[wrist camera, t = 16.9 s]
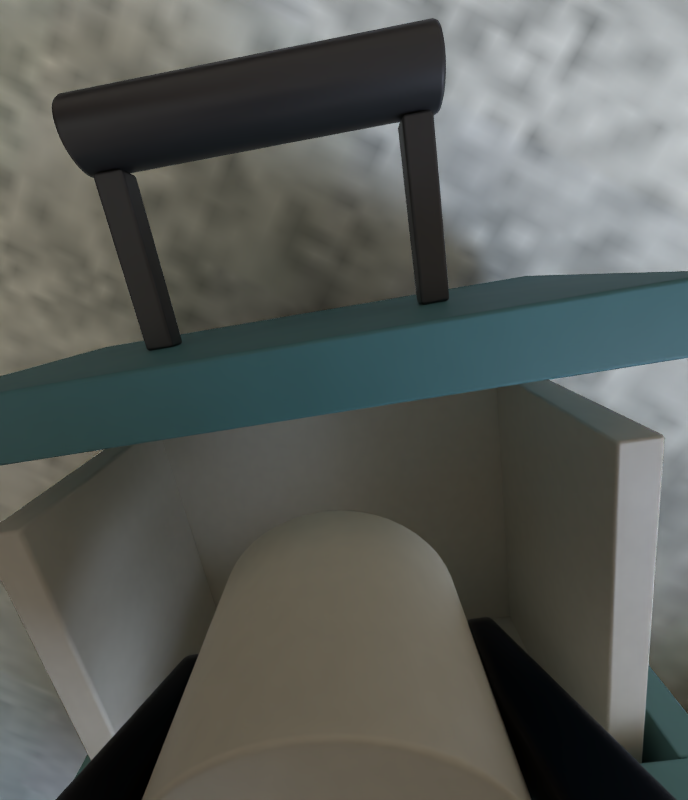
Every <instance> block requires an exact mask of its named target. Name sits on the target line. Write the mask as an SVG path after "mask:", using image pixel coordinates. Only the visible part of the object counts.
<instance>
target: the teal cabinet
mask: <svg viewBox="0 0 688 800" xmlns="http://www.w3.org/2000/svg"><path fill="white" fill-rule="evenodd" d="M90 761H91V760H90V758H89V756H88V755H87V756H86V758H85V760H84V762H83V764H82V766H81V767H80V769H79V771H78V773H77V775H78V774H79V773H80V772H81V771H82V770H83V769H84V768H85V767H86V766H87V764H88V763H89V762H90ZM640 764H641V765H642V766H643V767H644V768H645V769H646V770H647V771H648V772H649V773H650V774H651V775H652V776H653V777H654V778H655V779H656V780H657V781H658V782H659V783H660V784H661V785H662V786H663V787H664V788H665V789H666V790H667V791H668V792H669V793H670V794H671V795H672V796H673V797H674V798H675V799H676V800H688V714H687V713H686V711H685V710H684V709H683V708H682V706H681V705H680V704H679V703H678V701H677V700H676V699H675V698H674V696H673V695H672V694H671V693H670V691H669V690H668V689H667V687H666V686H665V685H664V684H663V682H662V681H661V680H660V679H659V677H658V676H657V675H656V674H655V672H654V671H653V670H652V669H651V667H650V666H648V680H647V694H646V708H645V722H644V737H643V751H642V763H640ZM77 775H76V777H77ZM76 777H75V778H76ZM75 778H74V779H75Z"/></svg>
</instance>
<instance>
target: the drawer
mask: <svg viewBox="0 0 688 800" xmlns="http://www.w3.org/2000/svg"><path fill="white" fill-rule="evenodd" d="M445 79H446V54H445V43H444V37H443V32H442V28H441V25H440V23H439V21H438V20H436V19H434V18H431V19H426V20H422V21H417V22H412V23H407V24H402V25H397V26H392V27H387V28H382V29H377V30H372V31H367V32H362V33H357V34H352V35H347V36H342V37H337V38H332V39H327V40H323V41H318V42H313V43H308V44H303V45H298V46H293V47H288V48H283V49H278V50H273V51H268V52H263V53H258V54H253V55H248V56H243V57H238V58H233V59H228V60H223V61H219V62H214V63H209V64H204V65H199V66H194V67H189V68H184V69H179V70H174V71H169V72H164V73H159V74H154V75H149V76H144V77H139V78H134V79H129V80H124V81H119V82H115V83H110V84H105V85H100V86H95V87H90V88H85V89H80V90H75V91H70V92H65V93H60V94H58V95H57V96H56V97H55V98H54V99H53V102H52V114H53V119H54V123H55V126H56V129H57V132H58V134H59V137H60V139H61V141H62V143H63V145H64V147H65V149H66V150H67V152H68V154H69V155H70V157H71V158H72V159H73V161H74V162H75V163H76V165H77V166H78V167H79V168H80V169H81V170H82V171H83V172H84V173H85V174H87V175H88V176H90V177H93V178H94V180H95V183H96V186H97V190H98V193H99V196H100V199H101V202H102V206H103V209H104V212H105V215H106V219H107V222H108V225H109V228H110V232H111V235H112V238H113V241H114V245H115V248H116V251H117V254H118V258H119V261H120V264H121V267H122V270H123V274H124V277H125V280H126V283H127V287H128V290H129V293H130V296H131V300H132V303H133V306H134V309H135V313H136V316H137V319H138V322H139V326H140V329H141V332H142V335H143V338H144V341H139V342H133V343H128V344H122V345H116V346H110V347H105V348H101V349H98V350H94V351H90V352H87V353H83V354H80V355H76V356H72V357H69V358H65V359H61V360H58V361H54V362H51V363H47V364H43V365H40V366H36V367H32V368H29V369H25V370H22V371H18V372H14V373H11V374H7V375H3V376H0V465H7V464H13V463H19V462H26V461H32V460H38V459H45V458H51V457H58V456H64V455H70V454H77V453H83V452H90V451H96V450H102V449H105V450H104V451H102V452H101V453H99V454H98V455H96V456H95V457H94V458H92V459H91V460H89V461H88V462H86V463H85V464H84V465H82V466H81V467H79V468H78V469H76V470H75V471H74V472H72V473H71V474H69V475H68V476H66V477H65V478H64V479H62V480H61V481H59V482H58V483H57V484H55V485H54V486H52V487H51V488H49V489H48V490H47V491H45V492H44V493H42V494H41V495H39V496H38V497H37V498H35V499H34V500H32V501H31V502H29V503H28V504H27V505H25V506H24V507H22V508H21V509H20V510H18V511H17V512H15V513H14V514H12V515H11V516H10V517H8V518H7V519H5V520H4V521H2V522H1V523H0V579H1V581H2V583H3V585H4V587H5V589H6V591H7V593H8V595H9V597H10V599H11V601H12V603H13V605H14V607H15V609H16V611H17V613H18V615H19V617H20V619H21V621H22V623H23V625H24V627H25V629H26V631H27V633H28V635H29V637H30V639H31V641H32V643H33V645H34V647H35V649H36V651H37V653H38V655H39V657H40V659H41V661H42V663H43V665H44V667H45V669H46V671H47V673H48V675H49V677H50V679H51V681H52V683H53V685H54V687H55V690H56V692H57V694H58V696H59V698H60V700H61V702H62V704H63V706H64V708H65V710H66V712H67V714H68V716H69V718H70V720H71V722H72V724H73V726H74V728H75V730H76V732H77V734H78V736H79V738H80V740H81V742H82V744H83V746H84V748H85V750H86V752H87V754H88V756H89V758H90V760H92V759H93V758H94V757H95V756H96V754H97V753H98V752H99V751H100V750H101V749H102V748H103V747H104V746H105V745H106V743H107V742H108V741H109V740H110V739H111V738H112V737H113V736H114V735H115V733H116V732H117V731H118V730H119V729H120V728H121V727H122V726H123V725H124V724H125V722H126V721H127V720H128V719H129V718H130V717H131V716H132V715H133V714H134V712H135V711H136V710H137V709H138V708H139V707H140V706H141V705H142V704H143V703H144V701H145V700H146V699H147V698H148V697H149V696H150V695H151V694H152V693H153V691H154V690H155V689H156V688H157V687H158V686H159V685H160V684H161V683H162V682H163V680H164V679H165V678H166V677H167V676H168V675H169V674H170V673H171V672H172V670H173V669H174V668H175V667H176V666H177V665H178V664H179V663H180V662H181V661H182V660H183V659H184V658H185V657H186V656H188V655H194V654H199V652H200V650H201V647H202V645H203V642H204V640H205V637H206V634H207V632H208V629H209V627H210V624H211V622H212V619H213V617H214V614H215V612H216V609H217V606H218V604H219V601H220V599H221V596H222V594H223V591H224V589H225V586H226V583H227V581H228V578H229V576H230V574H231V572H232V570H233V568H234V566H235V564H236V562H237V561H238V559H239V558H240V557H241V555H242V554H243V552H244V551H245V550H246V549H247V548H248V547H249V546H250V545H251V544H252V543H253V542H254V541H255V540H257V539H258V538H259V537H260V536H262V535H263V534H264V533H266V532H267V531H269V530H270V529H272V528H274V527H276V526H277V525H279V524H281V523H284V522H286V521H288V520H291V519H293V518H296V517H299V516H303V515H306V514H310V513H316V512H322V511H337V510H344V511H358V512H363V513H369V514H374V515H377V516H380V517H383V518H387V519H389V520H392V521H394V522H396V523H398V524H401V525H403V526H404V527H406V528H408V529H409V530H411V531H413V532H414V533H416V534H417V535H418V536H420V537H421V538H422V539H423V540H424V541H426V542H427V543H428V544H429V545H430V546H431V547H432V548H433V549H434V550H435V551H436V552H437V554H438V555H439V556H440V558H441V559H442V561H443V562H444V564H445V565H446V567H447V569H448V571H449V573H450V575H451V578H452V581H453V583H454V586H455V589H456V592H457V594H458V597H459V600H460V603H461V605H462V608H463V611H464V614H465V617H466V619H467V622H468V620H469V619H473V618H481V617H489V618H491V619H493V620H494V621H495V622H496V623H497V624H498V625H499V626H500V627H501V628H502V629H503V630H504V631H505V632H506V633H507V634H508V635H509V636H510V637H511V638H512V639H513V640H514V641H515V642H516V643H517V644H518V645H519V646H520V647H521V648H522V649H523V650H524V651H525V652H526V653H527V654H528V655H529V656H530V657H531V658H533V659H534V660H535V661H536V662H537V663H538V664H539V665H540V666H541V667H542V668H543V669H544V670H545V671H546V672H547V673H548V674H549V675H550V676H551V677H552V678H553V679H554V680H555V681H556V682H557V683H558V684H559V685H560V686H561V687H562V688H563V689H564V690H565V691H566V692H567V693H568V694H569V695H570V696H571V697H572V698H573V699H574V700H575V701H576V702H577V703H578V704H579V705H580V706H582V707H583V708H584V709H585V710H586V711H587V712H588V713H589V714H590V715H591V716H592V717H593V718H594V719H595V720H596V721H597V722H598V723H599V724H600V725H601V726H602V727H603V728H604V729H605V730H606V731H607V732H608V733H609V734H610V735H611V736H612V737H613V738H614V739H615V740H616V741H617V742H618V743H619V744H620V745H621V746H622V747H623V748H624V749H625V750H626V751H627V752H628V753H630V754H631V755H632V756H633V757H634V758H635V759H636V760H637V761H638V762H639V763H642V751H643V737H644V722H645V708H646V694H647V680H648V666H649V652H650V638H651V624H652V610H653V595H654V581H655V567H656V553H657V539H658V525H659V511H660V497H661V483H662V468H663V454H664V440H665V438H664V436H663V435H662V434H660V433H658V432H656V431H654V430H652V429H650V428H647V427H645V426H643V425H641V424H639V423H637V422H635V421H633V420H631V419H629V418H627V417H625V416H623V415H620V414H618V413H616V412H614V411H612V410H610V409H608V408H606V407H604V406H602V405H600V404H598V403H596V402H593V401H591V400H589V399H587V398H585V397H583V396H581V395H579V394H577V393H575V392H573V391H571V390H569V389H566V388H564V387H562V386H560V385H558V384H556V383H554V382H552V381H550V380H549V379H555V378H562V377H568V376H575V375H581V374H587V373H594V372H600V371H606V370H613V369H619V368H626V367H632V366H638V365H645V364H651V363H657V362H664V361H670V360H677V359H683V358H688V271H679V272H646V273H612V274H578V275H545V276H523V277H517V278H511V279H506V280H500V281H494V282H488V283H482V284H476V285H470V286H464V287H458V288H452V289H448V277H447V265H446V254H445V242H444V231H443V219H442V208H441V196H440V184H439V173H438V161H437V150H436V138H435V127H434V115H435V114H436V113H438V112H439V110H440V108H441V105H442V101H443V96H444V90H445ZM396 122H400V124H399V128H398V131H399V140H400V149H401V158H402V167H403V177H404V186H405V195H406V204H407V213H408V222H409V232H410V241H411V250H412V259H413V268H414V277H415V286H416V295H411V296H405V297H399V298H393V299H387V300H381V301H376V302H370V303H364V304H358V305H352V306H346V307H340V308H334V309H328V310H322V311H317V312H311V313H305V314H299V315H293V316H287V317H281V318H275V319H269V320H263V321H257V322H252V323H246V324H240V325H234V326H228V327H222V328H216V329H210V330H204V331H198V332H192V333H187V334H181V335H180V332H179V329H178V325H177V322H176V318H175V315H174V311H173V307H172V304H171V300H170V297H169V293H168V290H167V286H166V283H165V279H164V276H163V272H162V268H161V265H160V261H159V258H158V254H157V251H156V247H155V244H154V240H153V236H152V233H151V229H150V226H149V222H148V219H147V215H146V212H145V208H144V205H143V201H142V197H141V194H140V190H139V187H138V183H137V180H136V177H135V176H134V175H132V174H130V173H134V172H139V171H144V170H150V169H155V168H160V167H165V166H171V165H176V164H181V163H186V162H192V161H197V160H202V159H207V158H213V157H218V156H223V155H228V154H234V153H239V152H244V151H249V150H255V149H260V148H265V147H270V146H276V145H281V144H286V143H291V142H297V141H302V140H307V139H312V138H318V137H323V136H328V135H333V134H339V133H344V132H349V131H354V130H360V129H365V128H370V127H375V126H381V125H386V124H391V123H396Z"/></svg>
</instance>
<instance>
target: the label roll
mask: <svg viewBox="0 0 688 800" xmlns="http://www.w3.org/2000/svg"><path fill="white" fill-rule="evenodd" d="M142 800H532V799H531V797H530V794H529V791H528V788H527V785H526V783H525V780H524V777H523V774H522V772H521V769H520V766H519V763H518V761H517V758H516V755H515V752H514V749H513V747H512V744H511V741H510V738H509V736H508V733H507V730H506V727H505V725H504V722H503V719H502V716H501V713H500V711H499V708H498V705H497V702H496V700H495V697H494V694H493V691H492V689H491V686H490V683H489V680H488V677H487V675H486V672H485V669H484V666H483V664H482V661H481V658H480V655H479V653H478V650H477V647H476V644H475V641H474V639H473V636H472V633H471V630H470V628H469V625H468V622H467V619H466V617H465V614H464V611H463V608H462V605H461V603H460V600H459V597H458V594H457V592H456V589H455V586H454V583H453V581H452V578H451V575H450V573H449V571H448V569H447V567H446V565H445V564H444V562H443V561H442V559H441V558H440V556H439V555H438V554H437V552H436V551H435V550H434V549H433V548H432V547H431V546H430V545H429V544H428V543H427V542H426V541H424V540H423V539H422V538H421V537H420V536H418V535H417V534H416V533H414V532H413V531H411V530H409V529H408V528H406V527H404V526H403V525H401V524H398V523H396V522H394V521H392V520H389V519H387V518H383V517H380V516H377V515H374V514H369V513H363V512H358V511H344V510H337V511H322V512H316V513H310V514H306V515H303V516H299V517H296V518H293V519H291V520H288V521H286V522H284V523H281V524H279V525H277V526H276V527H274V528H272V529H270V530H269V531H267V532H266V533H264V534H263V535H262V536H260V537H259V538H258V539H257V540H255V541H254V542H253V543H252V544H251V545H250V546H249V547H248V548H247V549H246V550H245V551H244V552H243V554H242V555H241V557H240V558H239V559H238V561H237V562H236V564H235V566H234V568H233V570H232V572H231V574H230V576H229V578H228V581H227V583H226V586H225V589H224V591H223V594H222V596H221V599H220V601H219V604H218V606H217V609H216V612H215V614H214V617H213V619H212V622H211V624H210V627H209V629H208V632H207V634H206V637H205V640H204V642H203V645H202V647H201V650H200V652H199V655H198V657H197V660H196V663H195V665H194V668H193V670H192V673H191V675H190V678H189V680H188V683H187V686H186V688H185V691H184V693H183V696H182V698H181V701H180V703H179V706H178V709H177V711H176V714H175V716H174V719H173V721H172V724H171V726H170V729H169V732H168V734H167V737H166V739H165V742H164V744H163V747H162V749H161V752H160V755H159V757H158V760H157V762H156V765H155V767H154V770H153V772H152V775H151V778H150V780H149V783H148V785H147V788H146V790H145V793H144V795H143V798H142Z"/></svg>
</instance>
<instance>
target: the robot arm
mask: <svg viewBox="0 0 688 800" xmlns="http://www.w3.org/2000/svg"><path fill="white" fill-rule="evenodd" d="M468 625H469V628H470V630H471V633H472V636H473V639H474V641H475V644H476V647H477V650H478V653H479V655H480V658H481V661H482V664H483V666H484V669H485V672H486V675H487V677H488V680H489V683H490V686H491V689H492V691H493V694H494V697H495V700H496V702H497V705H498V708H499V711H500V713H501V716H502V719H503V722H504V725H505V727H506V730H507V733H508V736H509V738H510V741H511V744H512V747H513V749H514V752H515V755H516V758H517V761H518V763H519V766H520V769H521V772H522V774H523V777H524V780H525V783H526V785H527V788H528V791H529V794H530V797H531V799H532V800H676V799H675V798H674V797H673V796H672V795H671V794H670V793H669V792H668V791H667V790H666V789H665V788H664V787H663V786H662V785H661V784H660V783H659V782H658V781H657V780H656V779H655V778H654V777H653V776H652V775H651V774H650V773H649V772H648V771H647V770H646V769H645V768H644V767H643V766H642V765H641V764H640V763H639V762H638V761H637V760H636V759H635V758H634V757H633V756H632V755H631V754H630V753H628V752H627V751H626V750H625V749H624V748H623V747H622V746H621V745H620V744H619V743H618V742H617V741H616V740H615V739H614V738H613V737H612V736H611V735H610V734H609V733H608V732H607V731H606V730H605V729H604V728H603V727H602V726H601V725H600V724H599V723H598V722H597V721H596V720H595V719H594V718H593V717H592V716H591V715H590V714H589V713H588V712H587V711H586V710H585V709H584V708H583V707H582V706H580V705H579V704H578V703H577V702H576V701H575V700H574V699H573V698H572V697H571V696H570V695H569V694H568V693H567V692H566V691H565V690H564V689H563V688H562V687H561V686H560V685H559V684H558V683H557V682H556V681H555V680H554V679H553V678H552V677H551V676H550V675H549V674H548V673H547V672H546V671H545V670H544V669H543V668H542V667H541V666H540V665H539V664H538V663H537V662H536V661H535V660H534V659H533V658H531V657H530V656H529V655H528V654H527V653H526V652H525V651H524V650H523V649H522V648H521V647H520V646H519V645H518V644H517V643H516V642H515V641H514V640H513V639H512V638H511V637H510V636H509V635H508V634H507V633H506V632H505V631H504V630H503V629H502V628H501V627H500V626H499V625H498V624H497V623H496V622H495V621H494V620H493V619H491V618H489V617H481V618H473V619H469V620H468ZM198 655H199V654H194V655H188V656H186V657H185V658H184V659H183V660H182V661H181V662H180V663H179V664H178V665H177V666H176V667H175V668H174V669H173V670H172V672H171V673H170V674H169V675H168V676H167V677H166V678H165V679H164V680H163V682H162V683H161V684H160V685H159V686H158V687H157V688H156V689H155V690H154V691H153V693H152V694H151V695H150V696H149V697H148V698H147V699H146V700H145V701H144V703H143V704H142V705H141V706H140V707H139V708H138V709H137V710H136V711H135V712H134V714H133V715H132V716H131V717H130V718H129V719H128V720H127V721H126V722H125V724H124V725H123V726H122V727H121V728H120V729H119V730H118V731H117V732H116V733H115V735H114V736H113V737H112V738H111V739H110V740H109V741H108V742H107V743H106V745H105V746H104V747H103V748H102V749H101V750H100V751H99V752H98V753H97V754H96V756H95V757H94V758H93V759H92V760H91V761H90V762H89V763H88V764H87V766H86V767H85V768H84V769H83V770H82V771H81V772H80V773H79V774H78V775H77V777H76V778H75V779H74V780H73V781H72V782H71V783H70V784H69V785H68V787H67V788H66V789H65V790H64V791H63V792H62V793H61V794H60V795H59V797H58V798H57V799H56V800H142V798H143V795H144V793H145V790H146V788H147V785H148V783H149V780H150V778H151V775H152V772H153V770H154V767H155V765H156V762H157V760H158V757H159V755H160V752H161V749H162V747H163V744H164V742H165V739H166V737H167V734H168V732H169V729H170V726H171V724H172V721H173V719H174V716H175V714H176V711H177V709H178V706H179V703H180V701H181V698H182V696H183V693H184V691H185V688H186V686H187V683H188V680H189V678H190V675H191V673H192V670H193V668H194V665H195V663H196V660H197V657H198Z"/></svg>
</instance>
